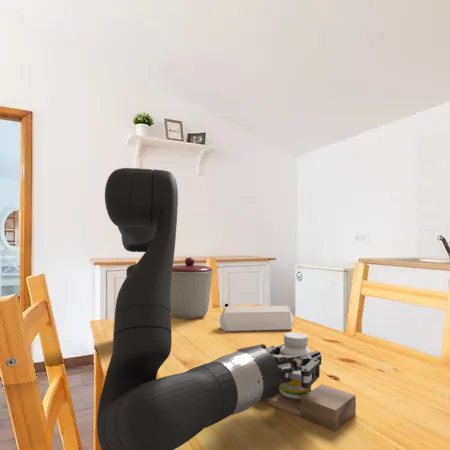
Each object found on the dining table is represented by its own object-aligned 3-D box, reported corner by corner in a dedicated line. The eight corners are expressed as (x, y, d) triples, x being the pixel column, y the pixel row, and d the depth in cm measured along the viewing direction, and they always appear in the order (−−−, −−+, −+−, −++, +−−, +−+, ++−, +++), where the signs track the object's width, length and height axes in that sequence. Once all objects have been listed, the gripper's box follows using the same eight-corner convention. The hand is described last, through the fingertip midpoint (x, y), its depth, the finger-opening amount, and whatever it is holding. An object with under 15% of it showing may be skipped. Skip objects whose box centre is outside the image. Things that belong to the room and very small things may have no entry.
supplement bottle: (311, 401, 56) (312, 340, 57) (278, 397, 57) (279, 338, 58) (310, 387, 61) (311, 332, 62) (279, 384, 62) (280, 330, 63)
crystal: (288, 312, 116) (217, 313, 112) (294, 304, 110) (219, 305, 106) (292, 334, 112) (218, 336, 109) (298, 328, 106) (220, 330, 102)
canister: (186, 324, 112) (187, 259, 113) (153, 315, 125) (154, 257, 125) (224, 315, 125) (224, 257, 126) (191, 308, 138) (191, 255, 139)
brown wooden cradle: (335, 431, 51) (335, 410, 51) (242, 392, 63) (242, 375, 63) (355, 414, 56) (355, 395, 56) (265, 381, 68) (265, 365, 68)
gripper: (283, 366, 44) (342, 340, 57) (206, 341, 54) (270, 324, 67) (282, 425, 44) (341, 386, 56) (205, 390, 54) (270, 363, 66)
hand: (303, 353), depth 61 cm, fingers closed on supplement bottle, 5 cm apart
